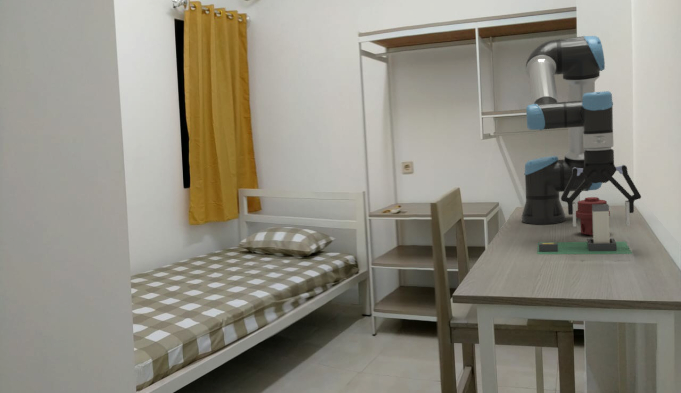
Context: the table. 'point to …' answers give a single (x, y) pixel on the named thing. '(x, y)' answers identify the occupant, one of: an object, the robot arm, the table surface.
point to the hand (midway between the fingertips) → (600, 225)
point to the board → (583, 247)
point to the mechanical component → (587, 214)
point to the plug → (600, 223)
